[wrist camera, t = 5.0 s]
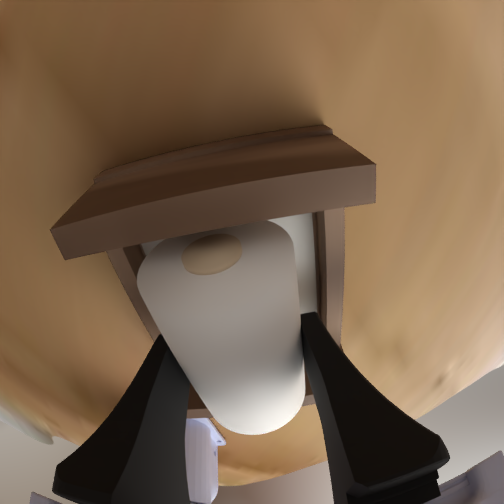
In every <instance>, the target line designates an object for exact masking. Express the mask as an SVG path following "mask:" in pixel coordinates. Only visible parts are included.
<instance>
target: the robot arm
mask: <svg viewBox="0 0 504 504" xmlns="http://www.w3.org/2000/svg"><path fill="white" fill-rule="evenodd" d="M300 317H301V330H302V344H303V358H304V363H305V369H306V373H307V376H308V379H309V383H310V386H311V389H312V392H313V396H314V399H315V402H316V406H317V409H318V412H319V416H320V420H321V424H322V428H323V434H324V440H325V445H326V451H327V457H328V463H329V470H330V476H331V483H332V491H333V498H334V504H504V456H503V453H502V451H498V452H496V453H495V454H493V455H492V456H490V457H489V458H487V459H485V460H484V461H482V462H480V463H479V464H477V465H475V466H474V467H472V468H470V469H469V470H467V471H466V472H465V473H463V474H461V475H459V476H457V477H455V478H453V479H451V480H449V481H447V482H445V483H443V484H441V485H439V486H438V483H437V479H438V478H439V475H438V472H437V469H439V468H440V467H442V466H443V465H445V464H446V463H447V462H448V461H449V459H450V456H449V453H448V450H447V448H446V446H445V444H444V442H443V441H442V439H441V438H440V436H439V435H437V434H435V433H434V432H432V431H430V430H429V429H427V428H425V427H424V426H422V425H421V424H419V423H418V422H416V421H415V420H414V419H412V418H411V417H409V416H408V415H407V414H405V413H404V412H403V411H402V410H400V409H399V408H398V407H397V406H395V405H394V404H393V403H392V402H390V401H389V400H388V399H387V398H386V397H385V396H383V395H382V394H381V393H380V392H379V391H378V390H377V389H376V388H375V387H374V386H373V385H372V384H371V383H370V382H369V381H368V380H367V379H366V378H365V377H364V376H363V375H362V374H361V373H360V372H359V371H358V369H357V368H356V367H355V366H354V365H353V364H352V362H351V361H350V360H349V359H348V358H347V356H346V355H345V354H344V352H343V351H342V350H341V349H340V347H339V346H338V345H337V343H336V342H335V341H334V339H333V338H332V336H331V335H330V333H329V332H328V330H327V329H326V327H325V326H324V324H323V322H322V321H321V319H320V317H319V315H318V313H317V312H315V311H314V312H309V313H304V314H300ZM189 389H190V381H189V379H188V378H187V376H186V374H185V373H184V371H183V370H182V368H181V366H180V365H179V363H178V361H177V360H176V358H175V356H174V355H173V353H172V351H171V350H170V348H169V346H168V344H167V343H166V341H165V339H164V337H163V336H162V334H159V335H158V337H157V339H156V340H155V342H154V344H153V346H152V348H151V349H150V351H149V353H148V355H147V357H146V358H145V360H144V362H143V364H142V366H141V367H140V369H139V371H138V372H137V374H136V376H135V378H134V379H133V381H132V383H131V384H130V386H129V387H128V389H127V390H126V392H125V394H124V395H123V397H122V398H121V400H120V401H119V402H118V404H117V405H116V407H115V408H114V409H113V411H112V412H111V413H110V415H109V416H108V417H107V418H106V420H105V421H104V422H103V423H102V424H101V425H100V427H99V428H98V429H97V430H96V431H95V432H94V433H93V434H92V435H91V436H90V437H89V438H88V439H87V440H86V441H85V442H84V443H83V444H82V445H81V446H80V447H79V448H78V449H77V450H76V451H75V452H73V453H72V454H71V455H70V456H68V457H67V458H66V459H65V460H64V461H62V462H61V463H59V464H58V465H57V467H56V471H55V477H54V482H53V488H52V491H53V493H54V494H56V495H58V496H61V497H63V498H66V499H68V500H70V501H73V502H75V503H78V504H211V502H212V501H213V500H214V498H215V497H216V495H217V492H218V450H217V446H220V445H225V444H226V441H225V439H224V438H223V437H222V435H221V434H220V433H219V432H218V430H217V429H216V427H215V426H214V425H213V423H212V422H211V421H210V419H209V418H194V419H187V409H188V399H189ZM30 504H61V503H59V502H57V501H54V500H52V499H49V498H47V497H44V496H42V495H39V494H37V493H35V492H32V493H31V498H30Z"/></svg>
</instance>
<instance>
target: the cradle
mask: <svg viewBox="0 0 504 504" xmlns="http://www.w3.org/2000/svg"><path fill="white" fill-rule="evenodd" d="M93 180H94V183H95V184H94V185H93V186H92V187H91V188H90V189H89V190H87V191H86V192H85V193H84V194H83V195H82V196H81V197H80V198H79V199H78V200H77V201H76V202H75V203H74V204H73V205H72V207H71V208H70V209H69V210H68V211H67V212H66V213H65V214H64V215H63V216H62V217H61V218H60V219H59V220H58V221H57V222H56V224H55V225H54V226H53V227H52V228H51V229H50V231H51V233H52V235H53V237H54V239H55V241H56V243H57V246H58V248H59V250H60V251H61V253H62V255H63V257H64V259H65V260H68V259H72V258H77V257H81V256H86V255H90V254H95V253H100V252H104V251H106V252H107V254H108V256H109V259H110V261H111V263H112V265H113V267H114V269H115V271H116V273H117V275H118V277H119V279H120V281H121V283H122V285H123V287H124V289H125V291H126V293H127V294H128V296H129V298H130V300H131V302H132V304H133V306H134V308H135V309H136V311H137V313H138V315H139V317H140V318H141V320H142V322H143V324H144V325H145V327H146V329H147V331H148V332H149V334H150V336H151V337H152V339H153V341H154V342H155V340H156V339H157V337H158V335H159V334H161V332H160V330H159V328H158V327H157V325H156V323H155V321H154V319H153V317H152V316H151V314H150V312H149V310H148V308H147V306H146V304H145V302H144V300H143V298H142V296H141V294H140V292H139V290H138V287H137V274H138V271H139V268H140V266H141V264H142V262H143V260H144V259H145V257H146V256H147V255H148V254H149V252H150V251H151V250H152V249H153V248H154V247H155V246H157V245H158V244H159V243H160V242H161V241H163V240H164V239H167V238H172V237H177V236H183V235H188V234H193V233H198V232H204V231H209V230H214V229H220V228H225V227H231V226H236V225H242V224H247V223H253V222H259V221H264V220H268V221H271V222H273V223H276V224H277V225H279V226H281V227H282V228H283V229H284V230H285V231H287V233H288V234H289V235H290V237H291V239H292V241H293V245H294V252H295V261H296V272H297V282H298V293H299V305H300V314H304V313H309V312H314V311H315V312H317V313H318V315H319V317H320V319H321V321H322V322H323V324H324V326H325V327H326V329H327V330H328V332H329V333H330V335H331V336H332V338H333V339H334V341H335V342H336V343H337V345H338V346H339V347H340V349H341V350H342V351H343V349H342V346H341V343H340V342H341V329H342V313H343V293H344V258H345V216H344V207H351V206H357V205H364V204H371V203H376V164H375V163H374V162H372V161H371V160H370V159H368V158H367V157H365V156H364V155H363V154H361V153H360V152H358V151H357V150H356V149H354V148H353V147H351V146H350V145H348V144H347V143H345V142H344V141H342V140H341V139H339V138H338V137H336V136H335V135H333V131H332V129H331V128H329V127H328V126H326V125H321V126H311V127H303V128H295V129H287V130H280V131H273V132H267V133H260V134H254V135H248V136H243V137H237V138H232V139H227V140H222V141H217V142H212V143H207V144H202V145H198V146H193V147H189V148H185V149H181V150H176V151H172V152H168V153H164V154H161V155H157V156H153V157H149V158H146V159H142V160H139V161H135V162H132V163H128V164H125V165H121V166H118V167H115V168H112V169H109V170H105V171H102V172H101V173H100V174H99V175H98V176H96V177H95V178H94V179H93ZM304 373H305V397H304V401H303V403H302V406H306V405H312V404H316V402H315V399H314V396H313V392H312V389H311V386H310V383H309V379H308V376H307V373H306V369H305V363H304ZM212 417H213V416H212V414H211V413H210V411H209V410H208V408H207V407H206V405H205V404H204V402H203V401H202V399H201V398H200V396H199V395H198V393H197V392H196V390H195V389H194V387H193V386H192V384H191V382H190V389H189V399H188V409H187V419H194V418H212Z"/></svg>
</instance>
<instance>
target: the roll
mask: <svg viewBox="0 0 504 504" xmlns="http://www.w3.org/2000/svg"><path fill="white" fill-rule="evenodd" d="M137 287H138V290H139V292H140V294H141V296H142V298H143V300H144V302H145V304H146V306H147V308H148V310H149V312H150V314H151V316H152V317H153V319H154V321H155V323H156V325H157V327H158V328H159V330H160V332H161V334H162V336H163V337H164V339H165V341H166V343H167V344H168V346H169V348H170V350H171V351H172V353H173V355H174V356H175V358H176V360H177V361H178V363H179V365H180V366H181V368H182V370H183V371H184V373H185V374H186V376H187V378H188V379H189V381H190V382H191V384H192V386H193V387H194V389H195V390H196V392H197V393H198V395H199V396H200V398H201V399H202V401H203V402H204V404H205V405H206V407H207V408H208V410H209V411H210V413H211V414H212V416H213V417H214V418H215V419H216V421H217V422H219V423H220V424H221V425H222V426H224V427H225V428H227V429H229V430H231V431H233V432H236V433H240V434H247V435H258V434H264V433H268V432H271V431H274V430H276V429H278V428H280V427H282V426H284V425H285V424H286V423H288V422H289V421H290V420H291V419H292V418H293V417H294V416H295V415H296V414H297V412H298V411H299V409H300V408H301V406H302V403H303V401H304V397H305V373H304V358H303V344H302V330H301V317H300V305H299V293H298V282H297V272H296V261H295V252H294V245H293V241H292V239H291V237H290V235H289V234H288V233H287V231H285V230H284V229H283V228H282V227H281V226H279V225H277V224H276V223H273V222H271V221H268V220H264V221H259V222H253V223H247V224H242V225H236V226H231V227H225V228H220V229H214V230H209V231H204V232H198V233H193V234H188V235H183V236H177V237H172V238H167V239H164V240H163V241H161V242H160V243H159V244H158V245H157V246H155V247H154V248H153V249H152V250H151V251H150V252H149V254H148V255H147V256H146V257H145V259H144V260H143V262H142V264H141V266H140V268H139V271H138V274H137Z"/></svg>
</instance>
